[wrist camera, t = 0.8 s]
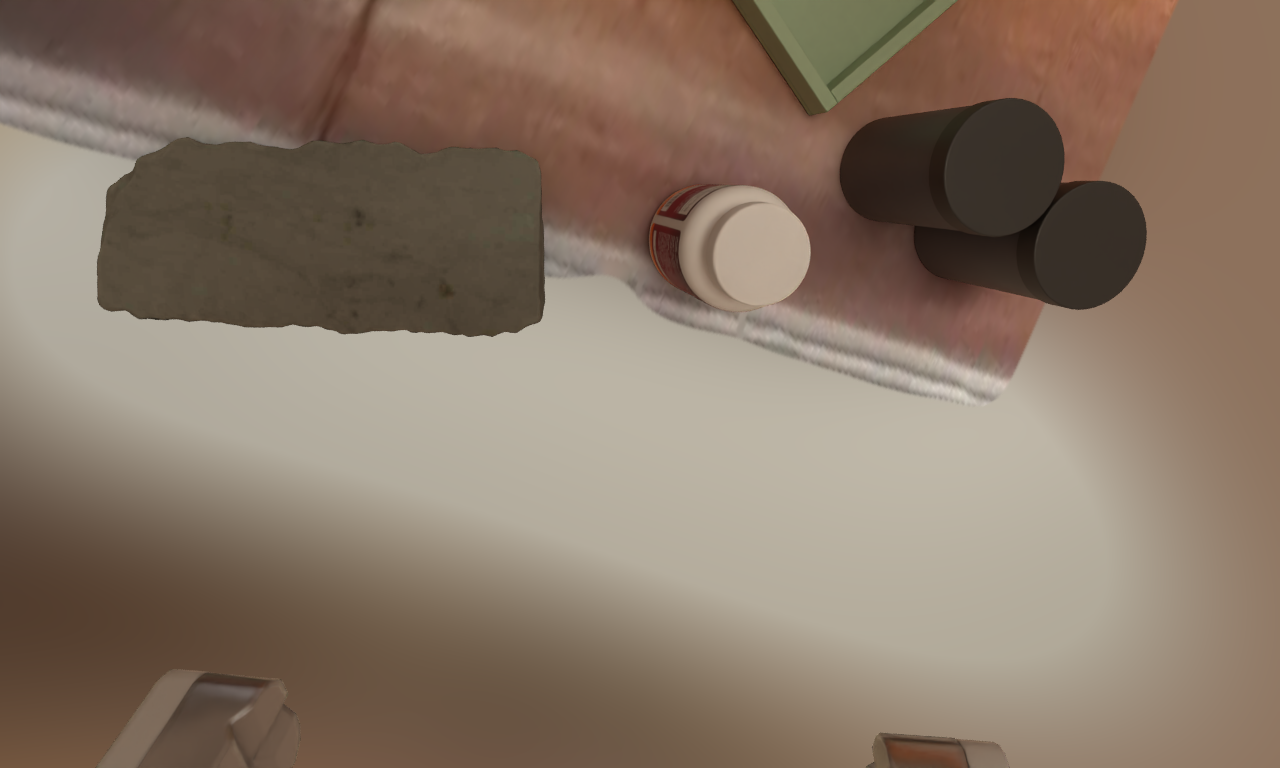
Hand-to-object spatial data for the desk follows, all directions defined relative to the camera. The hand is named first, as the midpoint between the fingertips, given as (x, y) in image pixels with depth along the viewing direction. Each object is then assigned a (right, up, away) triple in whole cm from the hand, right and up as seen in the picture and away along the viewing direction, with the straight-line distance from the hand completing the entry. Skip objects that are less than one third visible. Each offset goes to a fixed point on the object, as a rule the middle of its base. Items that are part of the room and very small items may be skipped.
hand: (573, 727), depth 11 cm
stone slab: (-15, +18, +29) cm, 37 cm away
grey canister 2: (+21, +14, +38) cm, 45 cm away
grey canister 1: (+16, +18, +36) cm, 43 cm away
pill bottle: (+4, +13, +35) cm, 37 cm away
